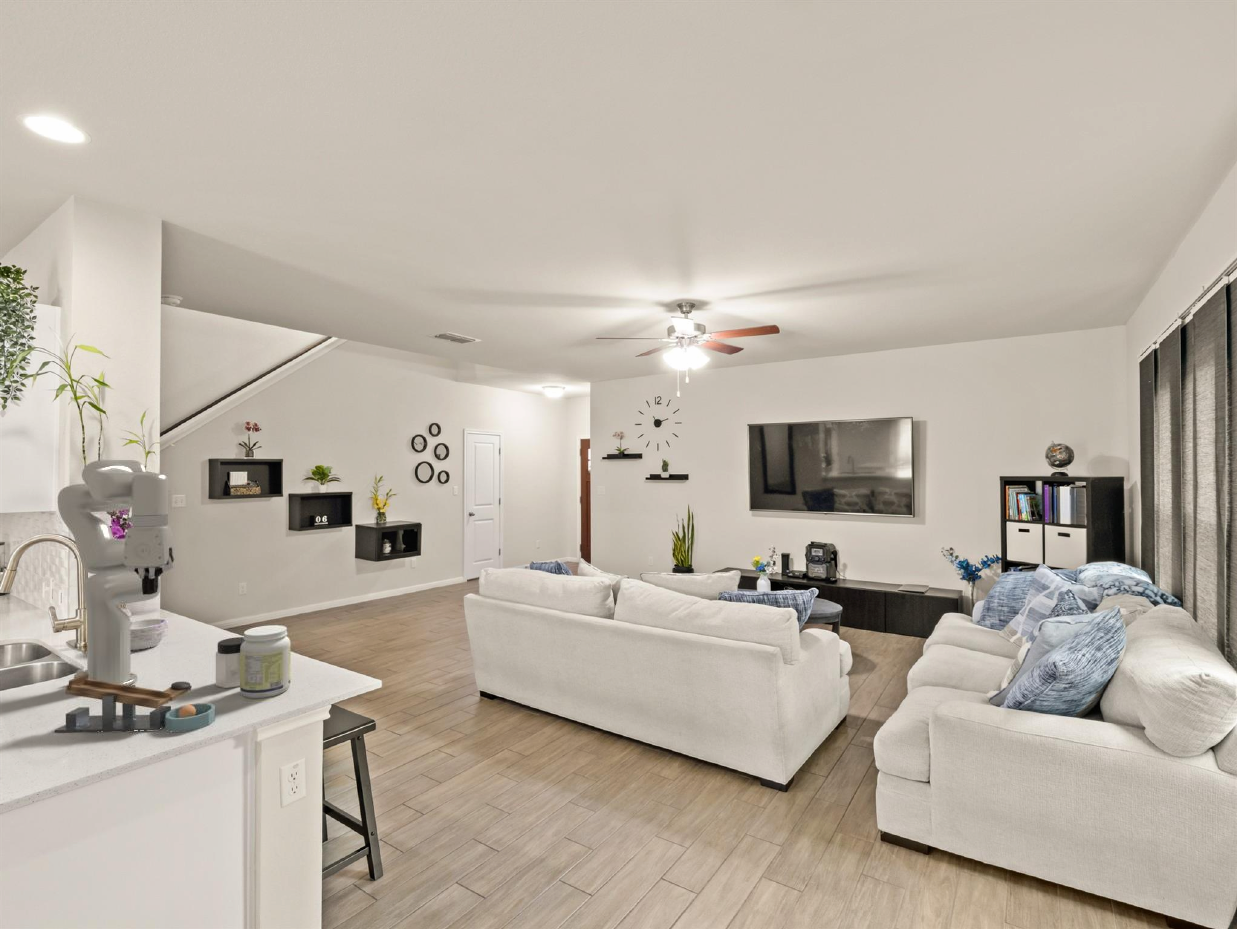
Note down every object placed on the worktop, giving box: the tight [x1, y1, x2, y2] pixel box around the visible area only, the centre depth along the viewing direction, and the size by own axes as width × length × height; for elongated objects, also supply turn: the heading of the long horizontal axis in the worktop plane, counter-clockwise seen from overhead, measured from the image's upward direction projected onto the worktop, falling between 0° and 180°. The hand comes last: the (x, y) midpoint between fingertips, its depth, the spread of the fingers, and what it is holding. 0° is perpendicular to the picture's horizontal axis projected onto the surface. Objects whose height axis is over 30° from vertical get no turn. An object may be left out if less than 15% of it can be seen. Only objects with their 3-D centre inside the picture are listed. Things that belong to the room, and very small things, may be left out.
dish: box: [165, 702, 216, 733], centre depth 155 cm, size 10×10×3 cm
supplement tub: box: [239, 624, 292, 699], centre depth 176 cm, size 12×12×17 cm
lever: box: [65, 673, 192, 710], centre depth 158 cm, size 22×13×3 cm, turn 93°
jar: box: [215, 636, 245, 689], centre depth 182 cm, size 9×8×12 cm
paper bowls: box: [130, 618, 169, 651], centre depth 217 cm, size 15×15×8 cm
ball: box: [178, 704, 196, 718], centre depth 155 cm, size 4×4×4 cm
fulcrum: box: [54, 684, 172, 734], centre depth 154 cm, size 23×8×8 cm, turn 93°
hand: (150, 593), depth 164 cm, fingers closed
